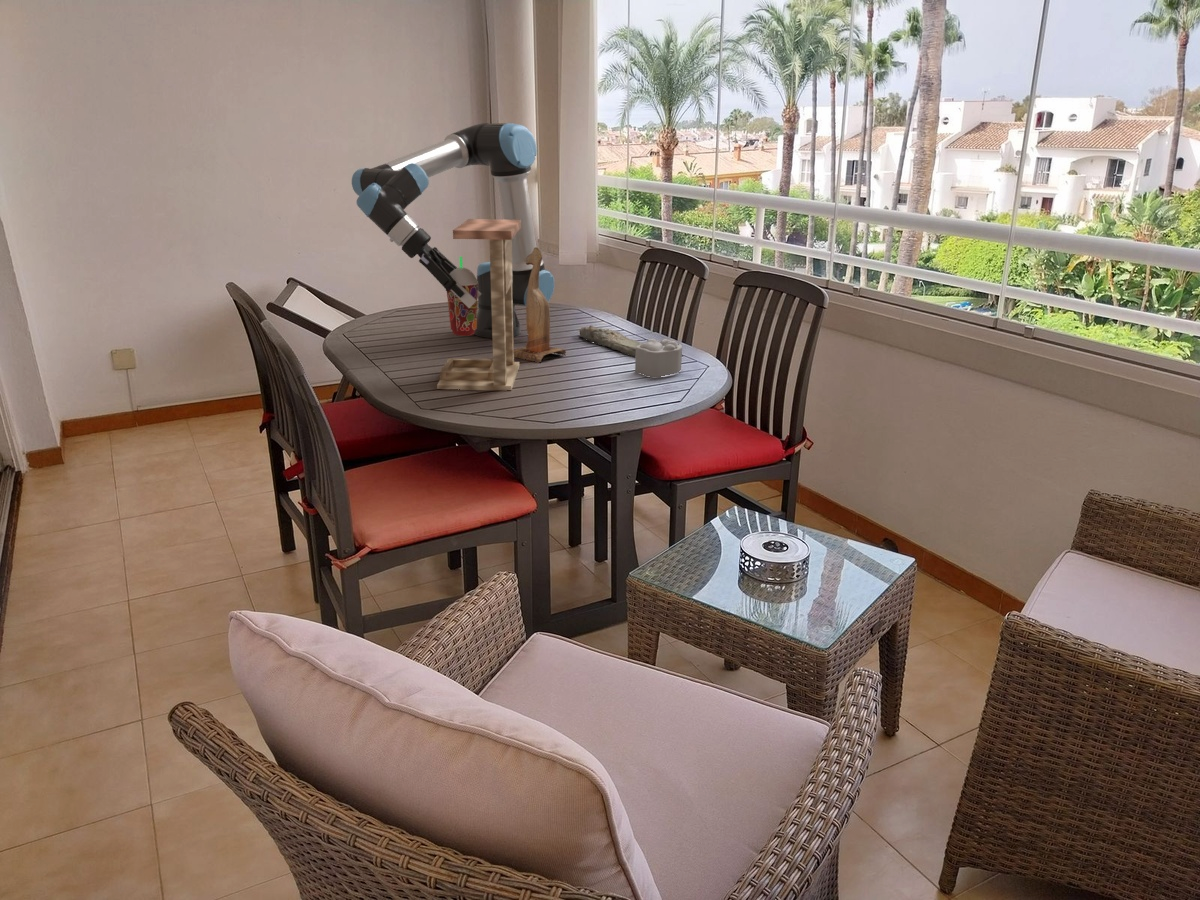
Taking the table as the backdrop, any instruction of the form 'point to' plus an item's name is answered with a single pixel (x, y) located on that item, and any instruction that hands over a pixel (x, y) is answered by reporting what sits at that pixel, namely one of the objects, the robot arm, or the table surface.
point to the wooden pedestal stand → (502, 366)
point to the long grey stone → (610, 339)
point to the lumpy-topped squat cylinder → (658, 358)
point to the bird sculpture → (536, 316)
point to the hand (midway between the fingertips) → (475, 301)
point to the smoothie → (459, 313)
